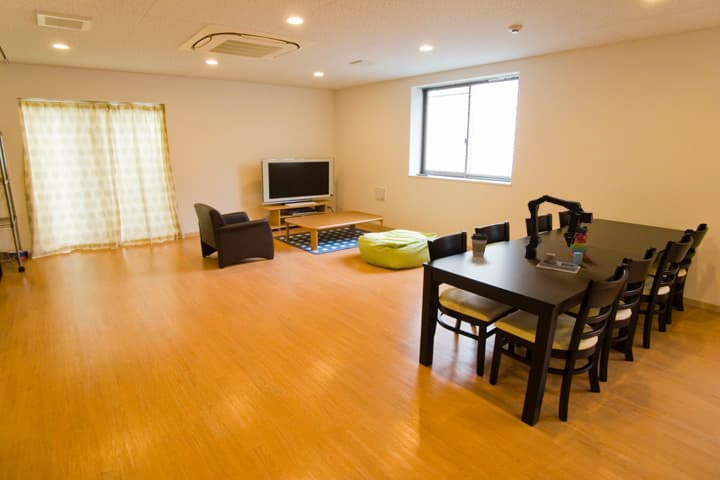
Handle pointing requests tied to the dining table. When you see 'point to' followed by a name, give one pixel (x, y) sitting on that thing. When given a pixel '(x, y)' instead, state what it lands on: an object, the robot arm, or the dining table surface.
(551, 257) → the walnut block
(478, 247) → the coffee cup
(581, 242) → the stacking bear
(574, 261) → the teal cylinder
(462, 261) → the dining table surface
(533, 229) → the robot arm
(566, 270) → the tray
